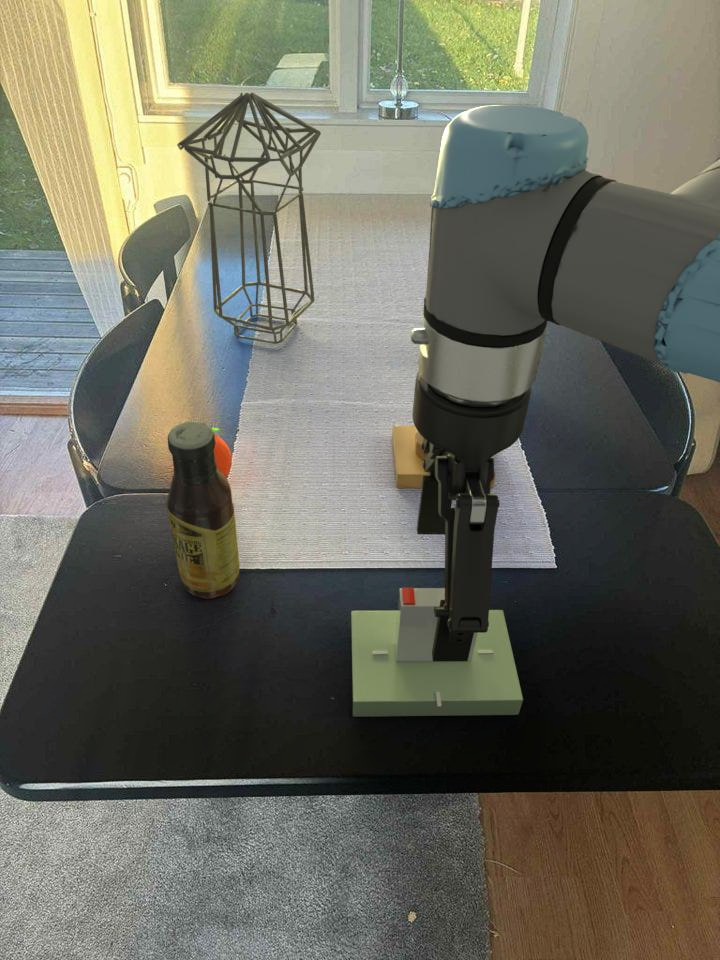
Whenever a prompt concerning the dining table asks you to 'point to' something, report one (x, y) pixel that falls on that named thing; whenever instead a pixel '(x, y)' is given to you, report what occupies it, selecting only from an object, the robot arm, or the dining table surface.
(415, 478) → the button block
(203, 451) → the sauce bottle
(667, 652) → the dining table surface
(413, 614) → the grey upright flat block
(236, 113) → the geometric lantern
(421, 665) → the plate
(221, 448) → the clementine
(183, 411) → the dining table surface
